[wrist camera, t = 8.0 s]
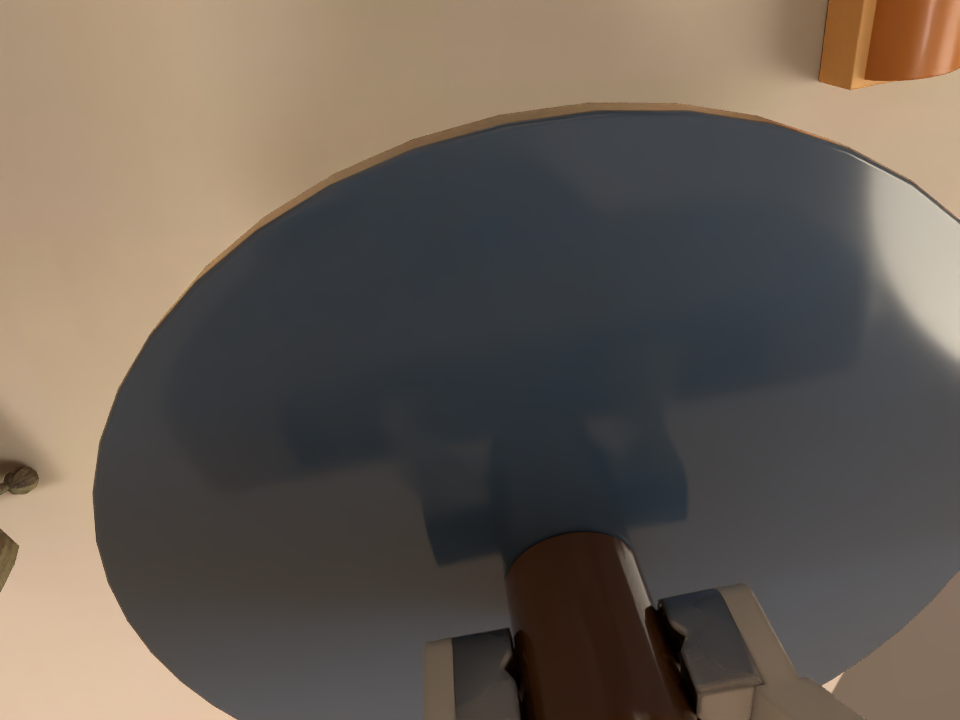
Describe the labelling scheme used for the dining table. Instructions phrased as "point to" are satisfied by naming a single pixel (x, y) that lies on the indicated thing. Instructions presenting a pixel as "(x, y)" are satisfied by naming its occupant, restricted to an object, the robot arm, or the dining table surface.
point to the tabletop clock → (3, 548)
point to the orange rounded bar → (889, 41)
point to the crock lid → (544, 416)
